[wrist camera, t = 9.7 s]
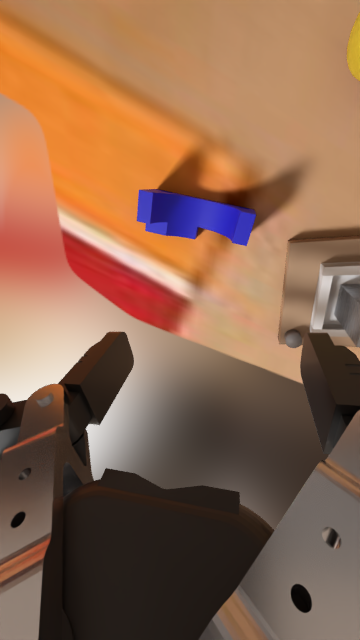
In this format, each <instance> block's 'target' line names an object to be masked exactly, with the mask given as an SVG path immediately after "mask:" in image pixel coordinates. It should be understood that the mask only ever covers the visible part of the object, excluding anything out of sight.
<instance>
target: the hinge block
mask: <svg viewBox="0 0 360 640" xmlns="http://www.w3.org/2000/svg"><path fill="white" fill-rule="evenodd" d="M334 315H335V317H336V318H337V320H338V321H339V323H340V324H341V325H342V327H343V328H344V330H345V331H346V333H347V334H348V336H349V337H350V338H351V340H352V341H353V343H354V344H355V346H356V347H360V284H340V288H339V293H338V297H337V302H336V307H335V312H334Z"/></svg>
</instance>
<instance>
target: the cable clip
mask: <svg viewBox="0 0 360 640" xmlns="http://www.w3.org/2000/svg"><path fill="white" fill-rule="evenodd" d="M255 217H256V213H255V211H254V209H249V208H244V207H239V206H235V205H230V204H225V203H220V202H216V201H211V200H206V199H201V198H196V197H192V196H187V195H182V194H177V193H173V192H168V191H163V190H158V189H149V190H139V198H138V213H137V221H139V222H143V223H146V230H145V231H148V232H153V233H157V234H161V235H166V236H179V237H186V238H191V239H196V237H197V233H198V228H199V227H200V228H204V229H208V230H211V231H214V232H217V233H220V234H222V235H224V236H226V237H228V238H229V239H231V241H232V243H236V244H240V245H244V246H247V243H248V240H249V236H250V233H251V230H252V227H253V224H254V220H255Z"/></svg>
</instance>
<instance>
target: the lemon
mask: <svg viewBox="0 0 360 640" xmlns="http://www.w3.org/2000/svg"><path fill="white" fill-rule="evenodd" d="M347 62H348V67H349V69H350V71H351V73H352V75H353V76H354V77H355V78H356V79H357V80H359V81H360V12H359V14H358V16H357V19H356V21H355V23H354V26H353V28H352V30H351V33H350V38H349V42H348V46H347Z"/></svg>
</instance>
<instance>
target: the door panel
mask: <svg viewBox="0 0 360 640" xmlns="http://www.w3.org/2000/svg"><path fill="white" fill-rule="evenodd" d="M340 284H360V236H347V237H332V238H317V239H302V240H288V246H287V256H286V266H285V275H284V285H283V295H282V304H281V314H280V324H279V334H278V340H279V344H287V346H288V347H291V348H297V347H299V346H300V345H303V340H304V335H305V333H306V332H309V333H328V334H329V336H330V338H331V340H332V342H333V343H334V345H341V346H345V347H356V346H355V344H354V343H353V341H352V340H351V338H350V337H349V336H348V334H347V333H346V331H345V330H344V328H343V327H342V325H341V324H340V323H339V321H338V320H337V318H336V317H335V315H334V312H335V307H336V302H337V297H338V293H339V288H340Z"/></svg>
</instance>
